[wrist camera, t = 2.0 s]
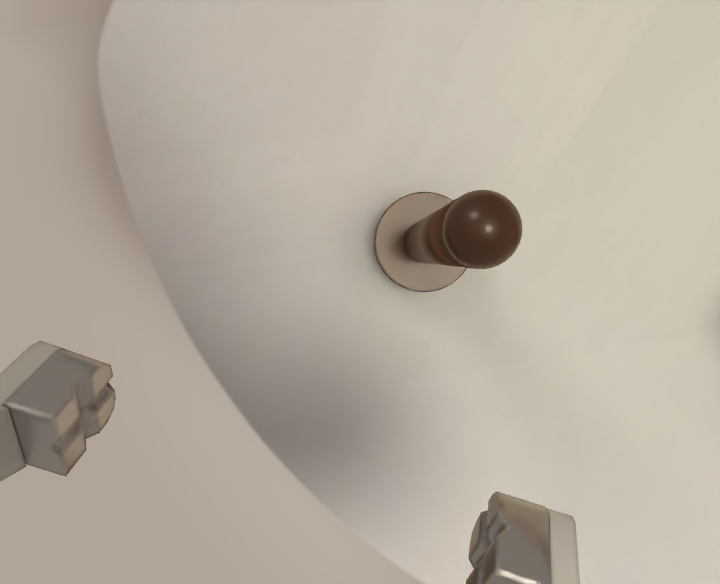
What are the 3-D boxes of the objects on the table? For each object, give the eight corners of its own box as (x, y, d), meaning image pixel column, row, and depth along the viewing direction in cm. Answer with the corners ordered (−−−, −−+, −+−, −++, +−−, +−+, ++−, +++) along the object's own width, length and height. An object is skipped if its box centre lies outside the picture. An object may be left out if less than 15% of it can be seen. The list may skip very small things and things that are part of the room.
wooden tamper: (366, 280, 32) (375, 309, 15) (382, 189, 32) (409, 111, 15) (456, 296, 32) (569, 341, 15) (473, 205, 32) (607, 145, 15)
